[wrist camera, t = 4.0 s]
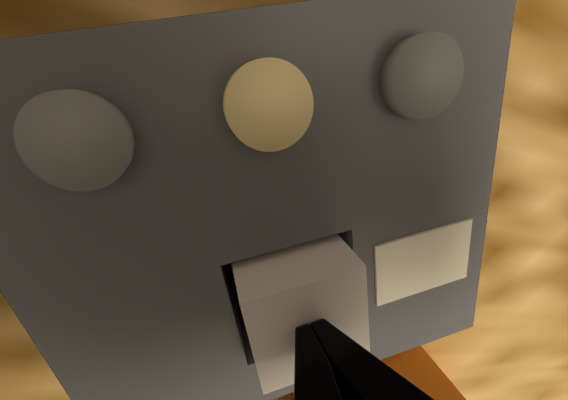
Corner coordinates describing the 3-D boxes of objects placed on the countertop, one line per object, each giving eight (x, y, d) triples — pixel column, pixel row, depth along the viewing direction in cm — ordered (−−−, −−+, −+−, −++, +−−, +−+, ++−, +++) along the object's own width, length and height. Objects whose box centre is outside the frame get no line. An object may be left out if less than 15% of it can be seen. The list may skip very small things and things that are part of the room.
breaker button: (245, 312, 12) (263, 394, 9) (226, 236, 11) (239, 303, 8) (326, 287, 13) (370, 356, 10) (318, 212, 11) (366, 265, 8)
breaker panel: (124, 389, 12) (104, 480, 10) (-49, 63, 8) (-191, 55, 5) (430, 288, 15) (485, 337, 12) (447, -4, 10) (543, -34, 7)
